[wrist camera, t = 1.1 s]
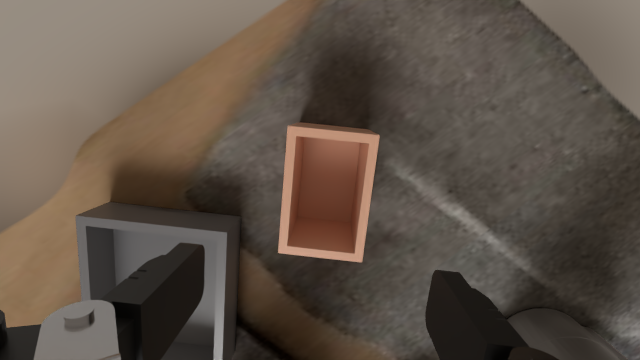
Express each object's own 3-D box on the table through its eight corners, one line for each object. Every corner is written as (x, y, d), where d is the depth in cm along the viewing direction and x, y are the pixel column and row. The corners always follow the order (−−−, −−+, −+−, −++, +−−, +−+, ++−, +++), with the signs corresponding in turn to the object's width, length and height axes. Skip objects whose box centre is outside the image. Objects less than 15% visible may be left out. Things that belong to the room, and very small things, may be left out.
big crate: (241, 216, 29) (227, 232, 26) (235, 349, 33) (221, 382, 29) (109, 202, 30) (75, 215, 26) (116, 335, 33) (86, 365, 29)
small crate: (368, 129, 27) (379, 135, 20) (355, 227, 29) (362, 262, 22) (299, 122, 27) (287, 125, 20) (291, 219, 29) (278, 253, 22)
